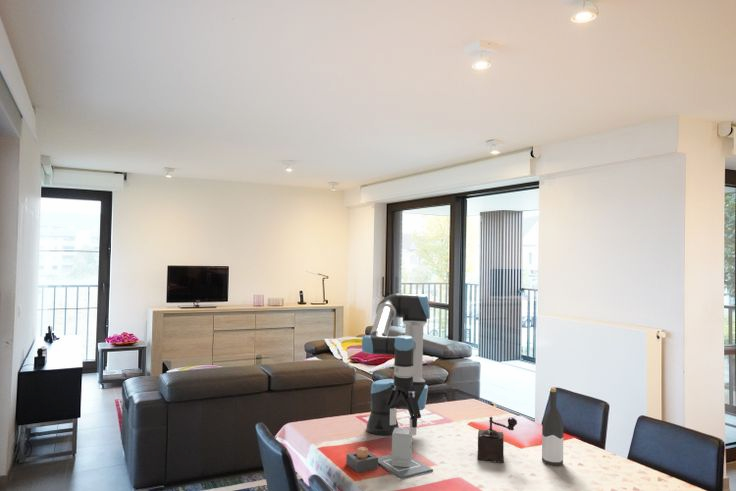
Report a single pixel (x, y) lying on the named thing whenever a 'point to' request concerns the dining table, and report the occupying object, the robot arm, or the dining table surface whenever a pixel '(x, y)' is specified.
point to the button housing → (362, 462)
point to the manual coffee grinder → (493, 442)
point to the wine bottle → (552, 434)
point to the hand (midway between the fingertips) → (402, 429)
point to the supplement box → (401, 447)
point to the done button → (362, 453)
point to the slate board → (403, 472)
